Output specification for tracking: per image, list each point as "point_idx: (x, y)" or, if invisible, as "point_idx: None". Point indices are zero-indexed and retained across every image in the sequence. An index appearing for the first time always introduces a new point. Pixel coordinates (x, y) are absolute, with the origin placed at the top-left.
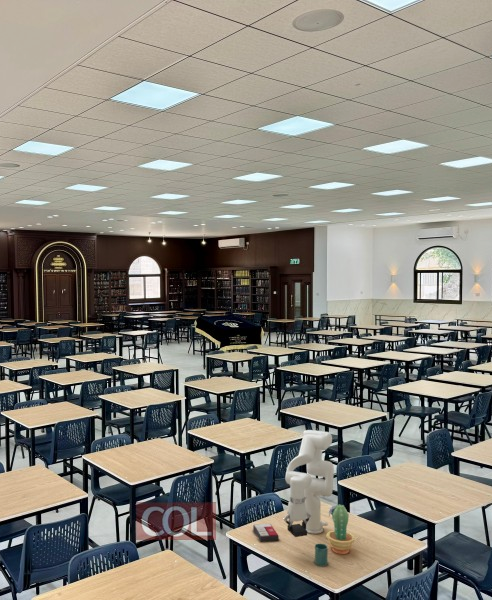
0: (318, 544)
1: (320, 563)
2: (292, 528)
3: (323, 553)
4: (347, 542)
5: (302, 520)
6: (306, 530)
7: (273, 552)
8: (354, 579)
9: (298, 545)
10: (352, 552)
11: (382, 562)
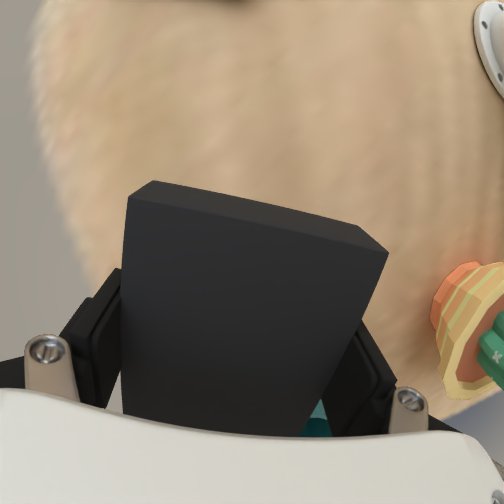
0: (311, 416)
1: None
2: (114, 384)
3: None
4: (462, 398)
5: (387, 419)
6: (292, 435)
7: (91, 130)
8: None
9: (331, 125)
10: None
11: (456, 407)
